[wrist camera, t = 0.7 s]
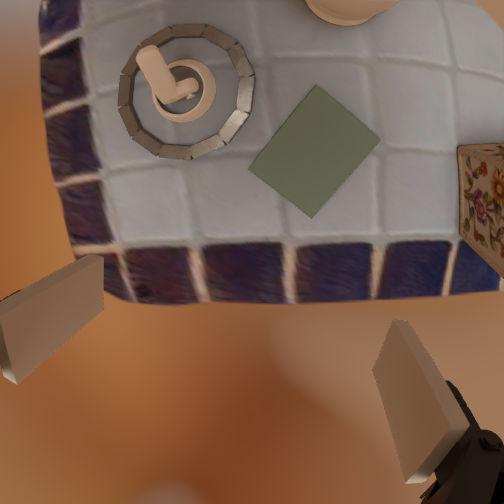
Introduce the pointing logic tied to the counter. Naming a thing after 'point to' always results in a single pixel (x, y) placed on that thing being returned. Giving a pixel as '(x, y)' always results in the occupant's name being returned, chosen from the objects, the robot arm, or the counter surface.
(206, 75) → the hook
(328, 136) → the rubber mat
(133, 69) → the metal ring
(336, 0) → the jar
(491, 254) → the decorative jar
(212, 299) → the counter surface
